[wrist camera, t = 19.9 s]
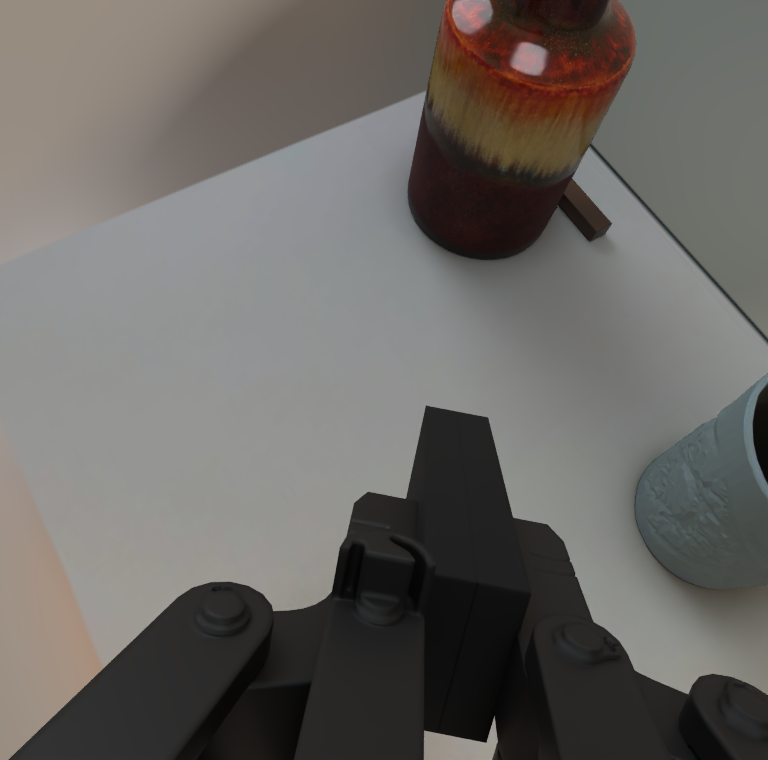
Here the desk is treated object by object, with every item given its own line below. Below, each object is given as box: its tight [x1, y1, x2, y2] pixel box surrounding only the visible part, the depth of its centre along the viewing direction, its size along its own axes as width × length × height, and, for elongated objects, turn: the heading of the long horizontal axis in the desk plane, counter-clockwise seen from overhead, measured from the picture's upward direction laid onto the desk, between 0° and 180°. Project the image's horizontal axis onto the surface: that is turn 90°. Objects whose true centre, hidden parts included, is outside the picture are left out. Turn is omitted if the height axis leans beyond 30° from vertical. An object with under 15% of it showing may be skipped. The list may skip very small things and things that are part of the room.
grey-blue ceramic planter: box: [635, 374, 768, 589], centre depth 33 cm, size 10×10×12 cm
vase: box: [408, 0, 636, 259], centre depth 37 cm, size 11×11×20 cm
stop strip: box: [558, 179, 612, 241], centre depth 48 cm, size 14×2×1 cm, turn 32°
